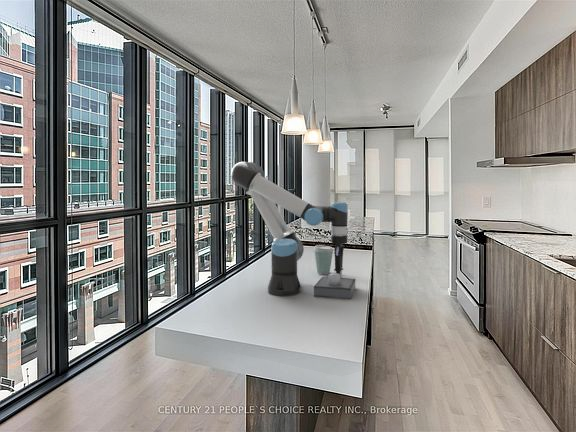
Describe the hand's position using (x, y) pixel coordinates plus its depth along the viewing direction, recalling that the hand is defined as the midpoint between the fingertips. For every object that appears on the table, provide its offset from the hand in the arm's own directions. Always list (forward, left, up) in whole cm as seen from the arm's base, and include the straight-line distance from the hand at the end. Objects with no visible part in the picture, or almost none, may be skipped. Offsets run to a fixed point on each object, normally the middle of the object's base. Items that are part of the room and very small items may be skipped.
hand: (338, 283), depth 186 cm
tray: (-6, -6, -1) cm, 9 cm away
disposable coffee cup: (+9, +26, -2) cm, 27 cm away
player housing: (-8, -8, -1) cm, 11 cm away
